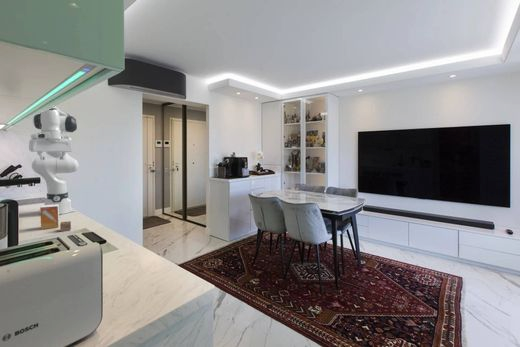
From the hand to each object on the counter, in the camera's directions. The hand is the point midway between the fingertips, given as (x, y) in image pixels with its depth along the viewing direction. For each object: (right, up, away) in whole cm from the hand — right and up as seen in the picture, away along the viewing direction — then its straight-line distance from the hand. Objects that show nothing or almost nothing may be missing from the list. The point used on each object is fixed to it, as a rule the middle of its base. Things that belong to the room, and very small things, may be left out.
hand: (52, 159), depth 152 cm
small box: (-2, -40, +2) cm, 40 cm away
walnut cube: (+10, -41, -3) cm, 42 cm away
